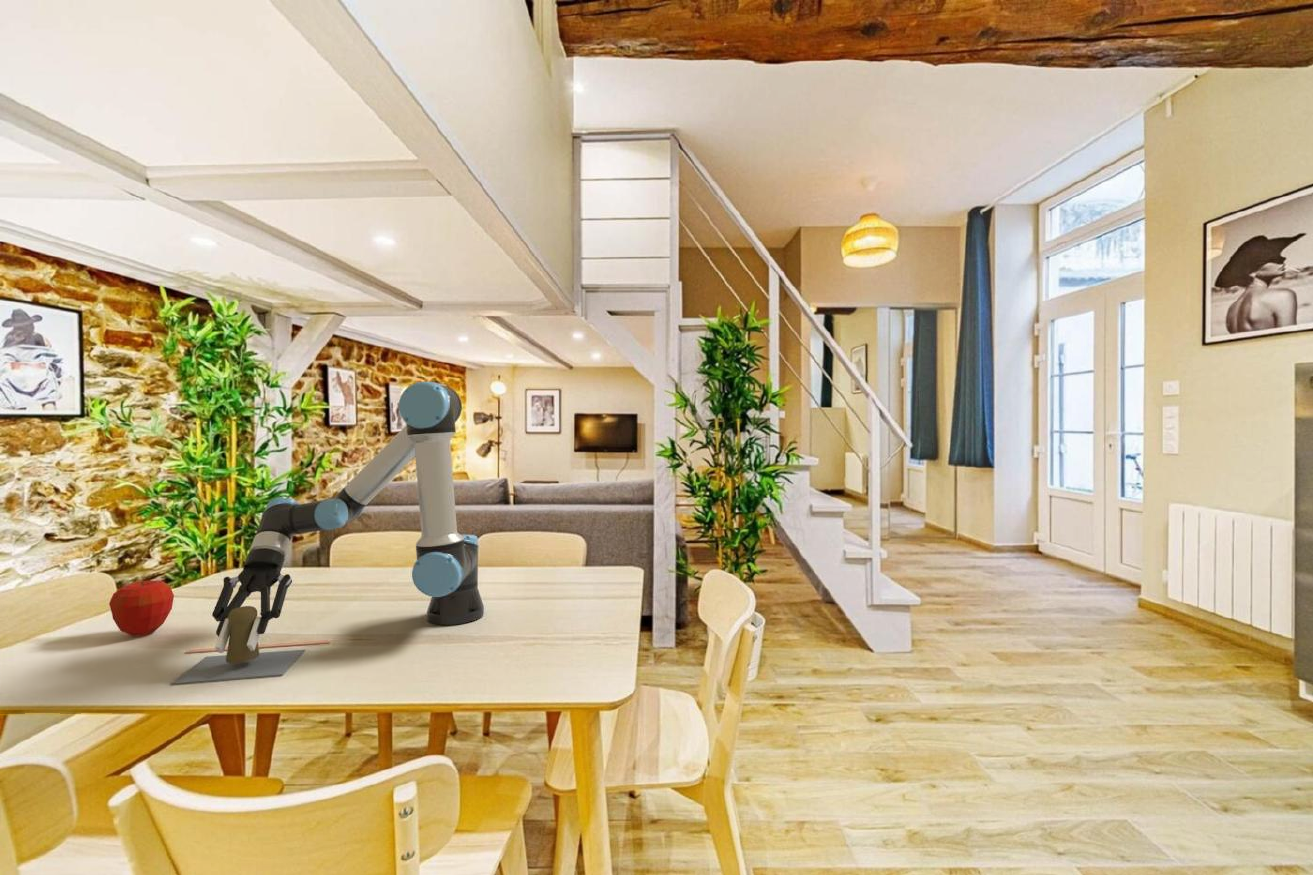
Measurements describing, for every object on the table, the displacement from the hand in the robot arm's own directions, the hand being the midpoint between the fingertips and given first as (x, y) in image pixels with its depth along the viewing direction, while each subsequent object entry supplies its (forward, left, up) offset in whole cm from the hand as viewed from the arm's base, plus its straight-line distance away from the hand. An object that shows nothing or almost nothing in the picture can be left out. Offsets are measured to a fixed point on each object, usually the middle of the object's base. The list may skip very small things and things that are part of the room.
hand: (235, 648), depth 122 cm
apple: (+33, -32, -6) cm, 46 cm away
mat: (0, -4, -5) cm, 7 cm away
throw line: (+1, -16, -5) cm, 17 cm away
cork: (0, -4, -3) cm, 5 cm away
